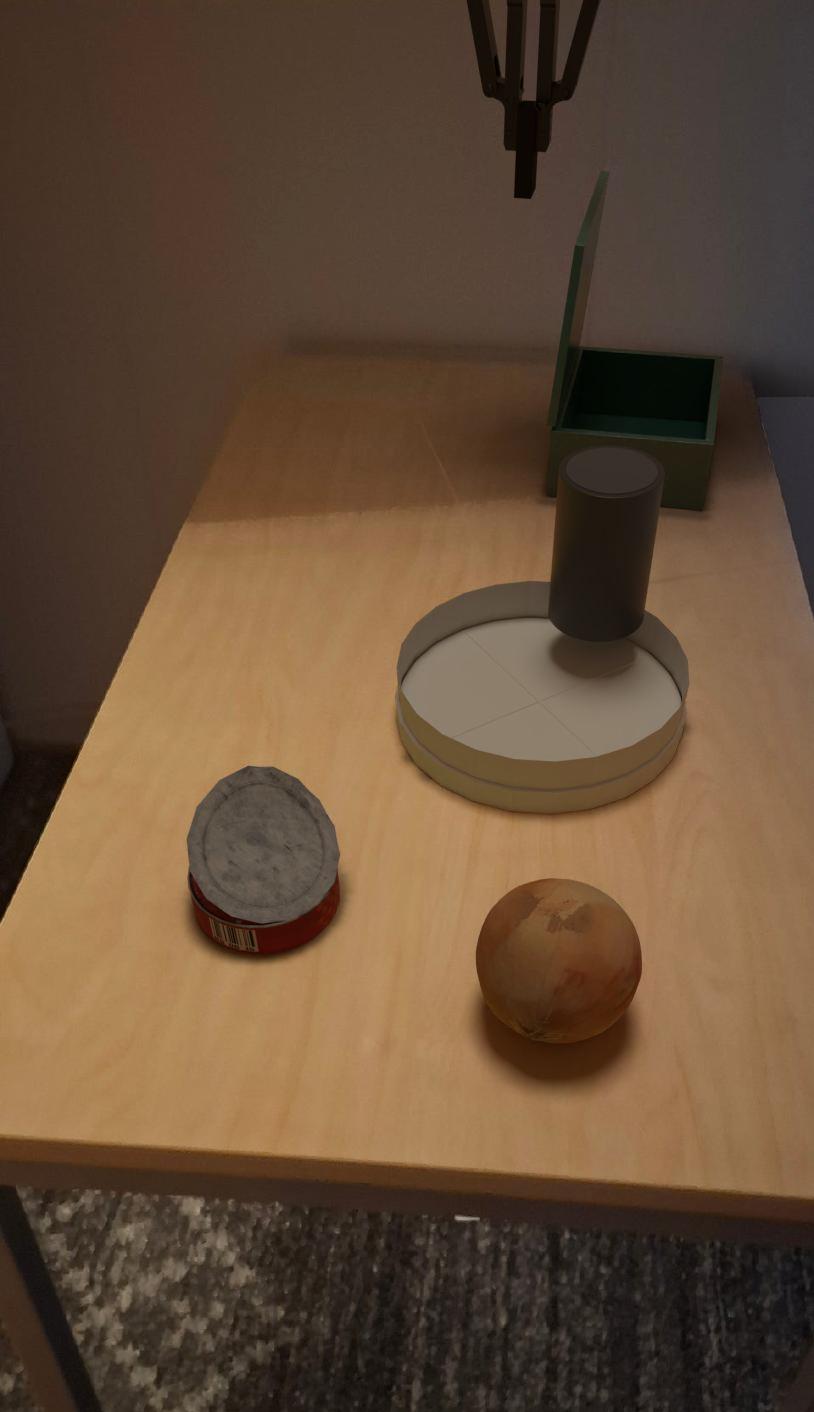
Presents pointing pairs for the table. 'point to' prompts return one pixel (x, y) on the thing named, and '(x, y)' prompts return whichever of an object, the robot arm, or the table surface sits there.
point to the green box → (643, 414)
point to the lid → (577, 296)
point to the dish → (537, 703)
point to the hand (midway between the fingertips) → (524, 193)
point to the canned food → (262, 862)
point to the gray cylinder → (604, 541)
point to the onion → (558, 960)
